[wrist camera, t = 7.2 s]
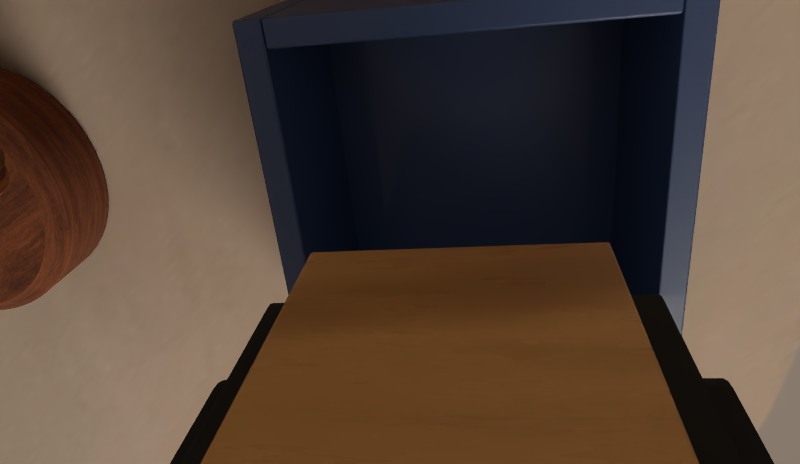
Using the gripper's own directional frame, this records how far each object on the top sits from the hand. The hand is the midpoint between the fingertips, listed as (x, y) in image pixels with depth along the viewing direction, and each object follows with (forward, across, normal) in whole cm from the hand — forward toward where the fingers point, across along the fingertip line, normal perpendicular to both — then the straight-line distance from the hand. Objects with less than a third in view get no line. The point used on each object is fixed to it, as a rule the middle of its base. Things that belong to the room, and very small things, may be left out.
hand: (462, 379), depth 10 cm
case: (+16, 0, +3) cm, 16 cm away
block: (0, 0, 0) cm, 0 cm away
